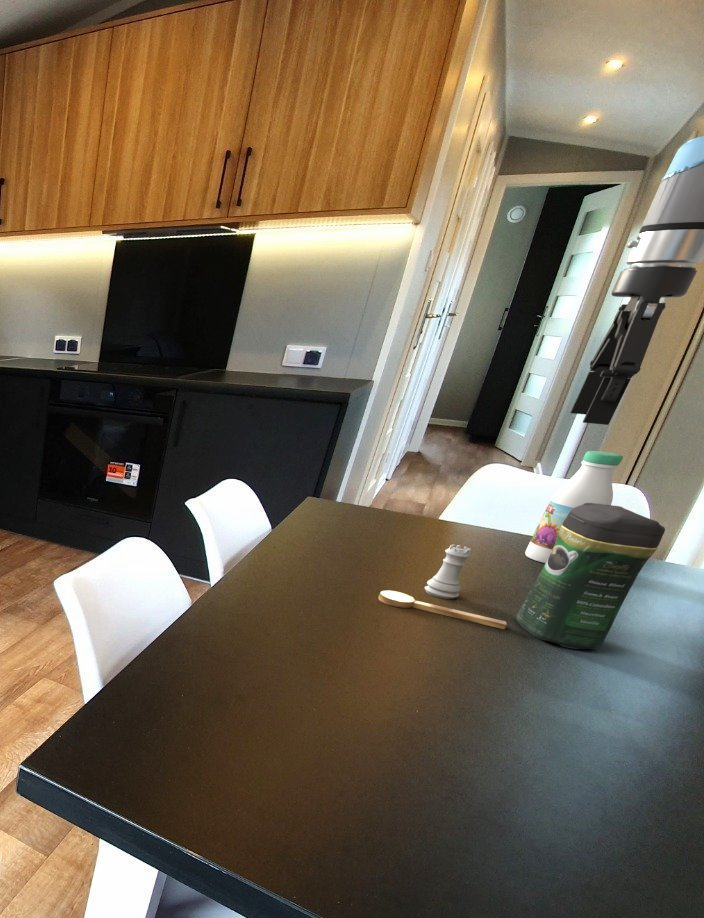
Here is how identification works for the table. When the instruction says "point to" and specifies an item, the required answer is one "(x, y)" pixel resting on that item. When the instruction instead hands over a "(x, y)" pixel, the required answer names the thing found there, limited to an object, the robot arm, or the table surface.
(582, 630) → the coffee jar
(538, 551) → the milk bottle
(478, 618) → the wooden spoon
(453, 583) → the rook chess piece
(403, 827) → the table surface
